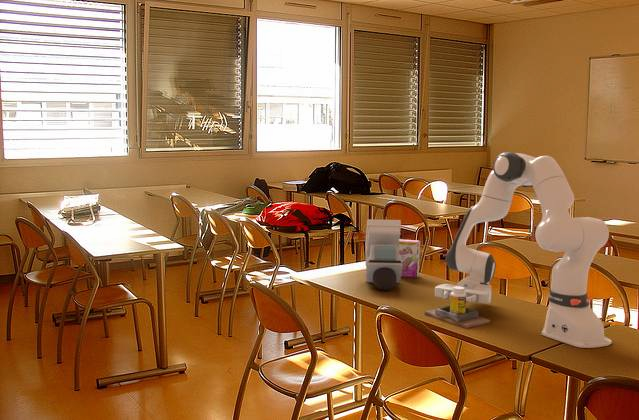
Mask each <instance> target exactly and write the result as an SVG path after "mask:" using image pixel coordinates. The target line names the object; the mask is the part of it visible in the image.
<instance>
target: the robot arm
mask: <svg viewBox="0 0 639 420" xmlns="http://www.w3.org/2000/svg"><path fill="white" fill-rule="evenodd" d="M492 167H493V168H492V170H491V171H490V172H489V174H488V177H487V179H486V180H485V184H484V187H483V190H482V193H481V196H480V199H479V201H478V202H477V203H476V204H475V205H472V206H470V207H469V209H468V210H467V212H466V213H465V215H464V217H463V220H462V222H461V224H460V226H459V228H458V230H457V233H456V234H455V237H454V239H453V241H452V244H451V245H450V247H449V248H448V250H447V253H446V255H445V263H446V266H448V268H449V269H450V271H451V270H452V271H454V272H455V271H456V272H461V273H463V274H468V275H467V276H466V277H464V278H462V279H461V280H460V281H458V282H457V284H456V285H455V284H451V283H450V284H449V283H443V284H438V285H436V286H435V287H434V296H435V297H436V298H442V299H444V300H449V299H450V295H451V292H453V287H456V286H460V287H464V293H466V304H467V303H468V304H469V303H478V304H484V305H485V304H487V305H488V304H490V303H491V300H492V285H491V284H490V282H491V281H492V280H493V278H494V275H495V272H496V267H497V266H496V265H497V263H496V261H495V258H494V256H493V255H492V254H491V253H487V252H484V251H481V250H477V249H473V248H471V247H467V246H466V243H467V241H468V238H469V236H470V234H471V232H472V230H473V228H474V226H475V225H477V224H480V223H485V222H496V221H499V220H501V219H504V218H505V217H506V216H507V215H508V213H509V211H510V208H511V206H512V202H513V198H514V194H515V190H516V189H517V188H519V187H520V186H521V187H523V188H533V190H534V192H535V195H536V197H537V199H538V203H539V205H540V208H541V211H542V213H541V214H542V217H541V221H540V222H539V224H538V225H537V226H536V229H535V235H534V236H535V240H536V243H537V245H538V246H539V247H540V248H541V249H542V250H544V251H545V250H546V251H550V252H556V253H560V252H564V254H563V256H562V258H561V259H560V260H559V261H558V262H556V263H555V264H554V265H553V267H552V269H551V281H550V282H551V283H550V284H551V285H550V289H549V290H548V291H549V293H548V301H549V305H548V308H547V310H546V315H545V316H546V317H545V321H544V326H543V329H542V331H541V335H542V336H544V337H547V338H549V339H552V340H555V341H558V342H561V343H563V344H568V345H570V346H574V347H576V348H584V349H585V348H587V349H588V348H589V349H591V348H592V349H593V348H594V349H595V348H602V347H607V346H610V345H612V343H613V342H612V340H611V339H610V338H608V337H606V336H605V327H604V323H603V321H601V319H600V318H599V317H598V316H597V314H596V313H595V312H594V310H593V309H592V308H591V306H590V305H591V304H590V303H592V302H593V298H589V296H588V293H587V286H588V285H587V284H588V276H589V271H590V267H591V264H592V262H593V260H594V258H595V257H596V254H597V253H598V252H599V251H600V250H601V248H603V247H604V246H605V245H606V244H607V242H609V241H608V240H609V237H610V230H609V227H608V225H607V224H606V222H605V221H604V220H602V219H601V218H596V217H590V216H579V217H578V216H577V217H575V216H574V217H572V215H571V214H570V212H569V209H570V208H572V206H573V204H574V202H575V194H574V193H573V190H572V188H571V186H570V184H569V182H568V179H567V178H566V177H567V176H566V175H565V174H564V171H563V169H562V168H561V166H560V165H559V164H558V162H557V161H556V159H554V158H553V157H552V156H550V155H541V156H538V157H536V156H535V157H534V156H532V155H528V154H526V153H519V152H512V151H507V152H502V153H500V154H498V155H497V156H496V158H495V159H494V161H493V166H492Z"/></svg>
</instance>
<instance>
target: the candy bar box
mask: <svg viewBox="0 0 639 420" xmlns="http://www.w3.org/2000/svg"><path fill="white" fill-rule="evenodd" d="M420 250H421V241H420V240H416V239H415V240H412V239H402V238H401V239H399V254H400V258H401V261H402V262H401V263H402V266H403V267H402V273H401V278H403V277H404V278H412V279H414V278H415V279H416V278H417V279H418V277H419V272H420V271H419V268H420Z"/></svg>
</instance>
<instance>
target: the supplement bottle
mask: <svg viewBox="0 0 639 420" xmlns="http://www.w3.org/2000/svg"><path fill="white" fill-rule="evenodd" d="M449 299H450V300H449V306H450V313H453V314H456V315H460V314H465V312H466V308H467V303H466V293H464V287H460V286H456V287H453V292H451V295H450V298H449Z"/></svg>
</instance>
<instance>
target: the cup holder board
mask: <svg viewBox="0 0 639 420" xmlns="http://www.w3.org/2000/svg"><path fill="white" fill-rule="evenodd" d="M423 314H424V315H426V316H429V317H431V318H435V319H438V320H441V321H444V322H446V323H450V324H453V325H455V326H459V327H462V328H464V329H469V328H472V327H477V326H482V325H485V324H489V323H490V322H491V319H488V318H485V317H482V316H480V315H479V311H478V310H475V309H471V308H469V307H466V312H465V314H460V315H456V314H453V313H450V305H448V306H442V307H438V308H435V309H430V310H426V311H424V312H423Z"/></svg>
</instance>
